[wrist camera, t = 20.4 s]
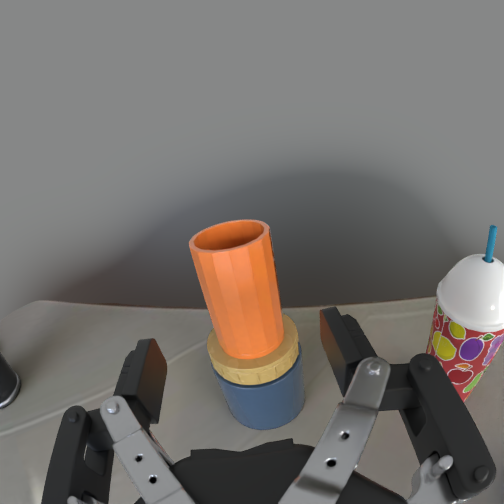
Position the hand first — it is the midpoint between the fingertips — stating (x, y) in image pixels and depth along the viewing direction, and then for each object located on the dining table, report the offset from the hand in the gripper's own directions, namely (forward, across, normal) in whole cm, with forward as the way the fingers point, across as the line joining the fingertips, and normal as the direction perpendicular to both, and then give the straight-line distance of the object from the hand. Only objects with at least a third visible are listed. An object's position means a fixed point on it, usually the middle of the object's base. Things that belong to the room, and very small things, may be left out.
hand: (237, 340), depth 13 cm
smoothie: (+3, -19, +19) cm, 27 cm away
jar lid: (+10, 0, +9) cm, 13 cm away
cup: (+10, 0, +8) cm, 13 cm away
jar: (+10, 0, +19) cm, 21 cm away
